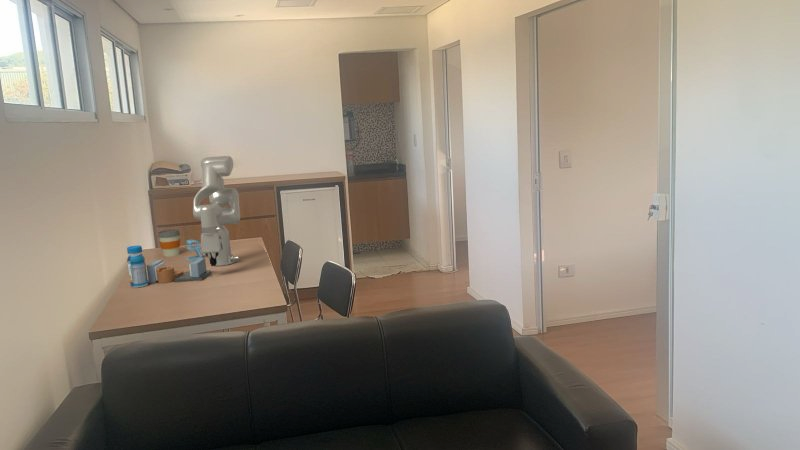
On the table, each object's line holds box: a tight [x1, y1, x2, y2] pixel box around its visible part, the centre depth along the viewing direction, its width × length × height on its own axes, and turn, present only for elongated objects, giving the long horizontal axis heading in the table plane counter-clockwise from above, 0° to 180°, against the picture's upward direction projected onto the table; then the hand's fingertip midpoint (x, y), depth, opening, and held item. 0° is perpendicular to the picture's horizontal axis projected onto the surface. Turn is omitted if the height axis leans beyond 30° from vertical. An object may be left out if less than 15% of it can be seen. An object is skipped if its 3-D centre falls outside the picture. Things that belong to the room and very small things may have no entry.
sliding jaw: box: [188, 257, 208, 277], centre depth 320 cm, size 4×13×7 cm, turn 0°
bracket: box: [156, 266, 184, 285], centre depth 320 cm, size 18×8×7 cm, turn 174°
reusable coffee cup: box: [157, 229, 181, 258], centre depth 384 cm, size 13×13×15 cm
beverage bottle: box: [126, 244, 149, 289], centre depth 308 cm, size 8×8×20 cm
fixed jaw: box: [146, 259, 166, 284], centre depth 320 cm, size 4×13×9 cm, turn 0°
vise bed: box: [174, 269, 212, 283], centre depth 321 cm, size 14×16×2 cm
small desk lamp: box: [185, 239, 203, 262], centre depth 367 cm, size 8×8×12 cm
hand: (213, 265), depth 319 cm, fingers closed
